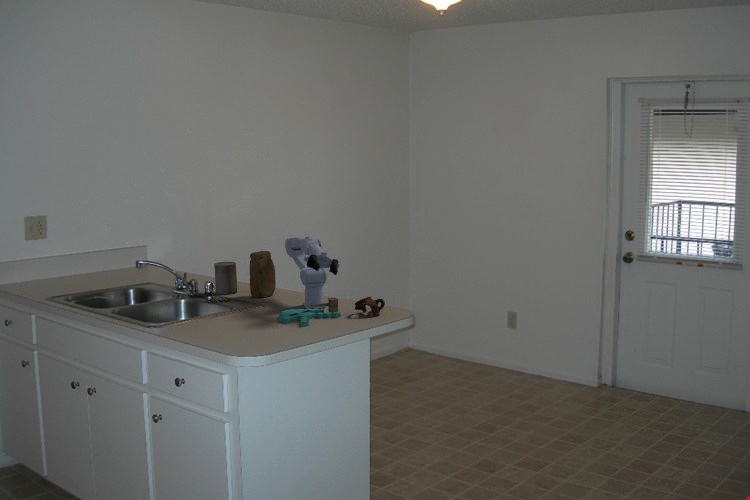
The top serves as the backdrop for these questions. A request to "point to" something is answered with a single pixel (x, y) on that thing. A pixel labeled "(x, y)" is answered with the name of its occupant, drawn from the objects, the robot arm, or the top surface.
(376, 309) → the broken pottery
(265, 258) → the brown jar
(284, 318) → the alien figure
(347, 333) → the top surface
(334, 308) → the wooden mallet
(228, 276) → the pillar candle
